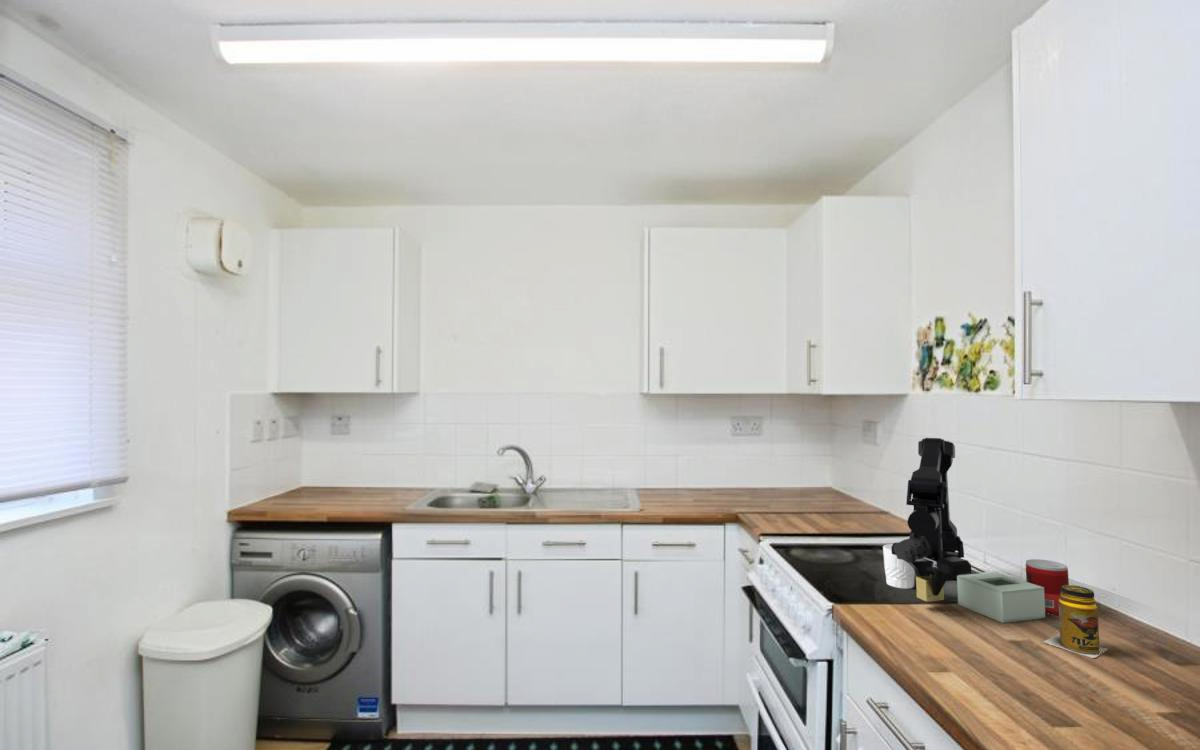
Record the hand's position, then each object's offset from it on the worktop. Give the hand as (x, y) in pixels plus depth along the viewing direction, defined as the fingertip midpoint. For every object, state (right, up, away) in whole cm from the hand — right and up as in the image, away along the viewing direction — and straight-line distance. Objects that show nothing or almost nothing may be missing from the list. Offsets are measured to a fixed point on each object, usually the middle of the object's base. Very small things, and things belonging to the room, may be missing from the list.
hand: (930, 593), depth 133 cm
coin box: (+16, -4, -2) cm, 16 cm away
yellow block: (0, -1, 0) cm, 1 cm away
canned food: (+28, -4, -1) cm, 28 cm away
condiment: (+17, -3, -21) cm, 27 cm away
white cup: (+2, -5, +18) cm, 18 cm away
